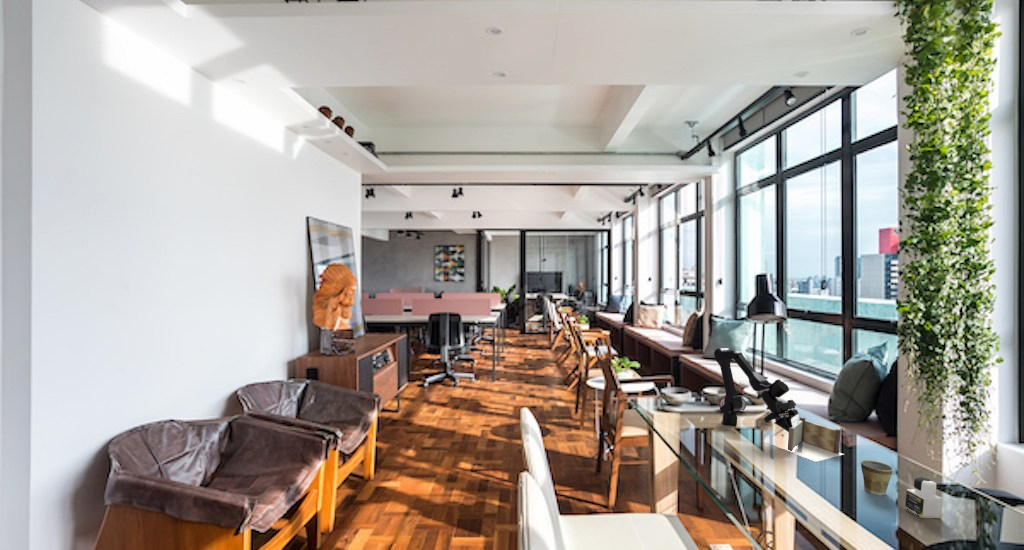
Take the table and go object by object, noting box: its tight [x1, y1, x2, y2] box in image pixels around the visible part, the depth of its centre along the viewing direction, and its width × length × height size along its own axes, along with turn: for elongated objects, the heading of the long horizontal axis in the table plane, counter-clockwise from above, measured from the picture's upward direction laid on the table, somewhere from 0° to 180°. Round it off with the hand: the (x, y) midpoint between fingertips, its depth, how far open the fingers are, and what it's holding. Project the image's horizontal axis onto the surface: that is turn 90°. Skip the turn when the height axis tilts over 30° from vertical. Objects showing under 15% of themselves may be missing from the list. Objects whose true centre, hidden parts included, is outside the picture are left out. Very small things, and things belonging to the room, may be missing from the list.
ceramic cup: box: [860, 459, 894, 496], centre depth 200 cm, size 13×10×10 cm
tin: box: [717, 394, 747, 411], centre depth 298 cm, size 15×3×8 cm, turn 84°
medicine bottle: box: [904, 476, 943, 517], centre depth 182 cm, size 7×7×12 cm
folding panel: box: [787, 421, 803, 451], centre depth 243 cm, size 18×2×10 cm, turn 138°
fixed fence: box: [798, 416, 842, 454], centre depth 244 cm, size 19×2×11 cm, turn 30°
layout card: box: [792, 441, 845, 463], centre depth 243 cm, size 28×22×1 cm
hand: (792, 432), depth 243 cm, fingers closed
